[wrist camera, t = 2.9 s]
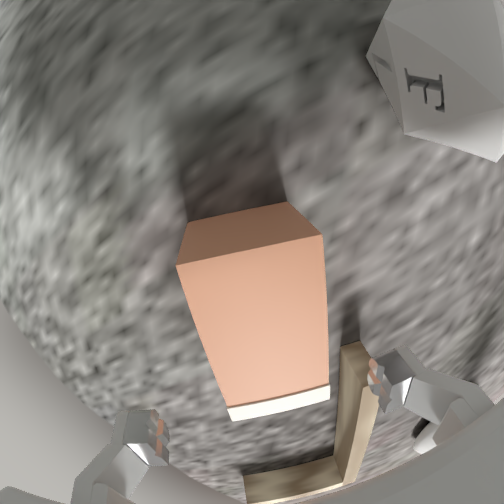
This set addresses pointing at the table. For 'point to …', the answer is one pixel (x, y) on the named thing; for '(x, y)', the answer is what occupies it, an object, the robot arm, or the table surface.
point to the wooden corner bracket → (346, 440)
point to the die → (445, 71)
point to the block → (259, 307)
